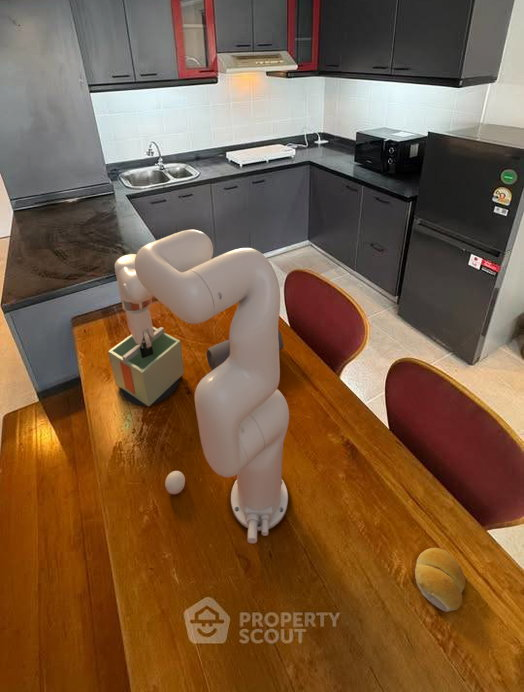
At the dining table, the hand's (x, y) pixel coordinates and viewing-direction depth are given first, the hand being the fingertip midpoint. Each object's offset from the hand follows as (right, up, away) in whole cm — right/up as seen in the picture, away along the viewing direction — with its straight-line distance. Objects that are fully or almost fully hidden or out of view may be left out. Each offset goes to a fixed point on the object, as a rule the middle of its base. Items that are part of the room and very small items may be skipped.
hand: (145, 351), depth 108 cm
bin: (0, -10, +5) cm, 11 cm away
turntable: (0, -11, +5) cm, 12 cm away
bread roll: (+66, -31, -37) cm, 82 cm away
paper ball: (+14, -22, -23) cm, 34 cm away
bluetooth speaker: (+28, -8, +12) cm, 32 cm away
